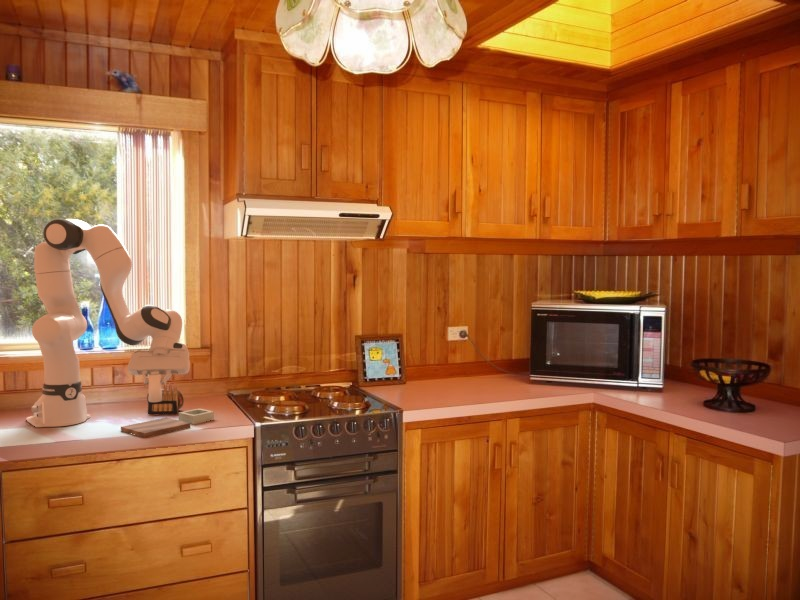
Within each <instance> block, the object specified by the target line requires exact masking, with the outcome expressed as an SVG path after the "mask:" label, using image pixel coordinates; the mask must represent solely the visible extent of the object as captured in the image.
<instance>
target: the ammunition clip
mask: <svg viewBox="0 0 800 600" xmlns="http://www.w3.org/2000/svg"><path fill="white" fill-rule="evenodd" d="M163 388H164V392H162V401H160V402H149V401H147V415H148V414H159V415H177V414H178V415H179V410H178V400H177V390H178V389H177V388H178V386H177V383H176V381H174V383H173V385H172V382H171V381H169V383H168V385H167V383H166V384H163ZM167 388H168V392H167ZM172 389H173V393H172ZM147 395H148V400H149V394H148V393H147ZM153 404H154V409H153ZM158 408H159V410H158Z"/></svg>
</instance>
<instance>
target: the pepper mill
mask: <svg viewBox="0 0 800 600" xmlns="http://www.w3.org/2000/svg"><path fill="white" fill-rule="evenodd" d="M147 378H148V384H147V385H148V393H149V402H160V401H162V388H163V384H161V382H160V381H161V378H163V375H162V374H159V371H151V372H150V374H149V375H148V377H147Z"/></svg>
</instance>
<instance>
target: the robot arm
mask: <svg viewBox="0 0 800 600" xmlns="http://www.w3.org/2000/svg"><path fill="white" fill-rule="evenodd" d="M42 233H43V238H44V241H42V242H39V243H38V244H37V245H36V246H35V249H34V255H33V257H34V258H33V259H34V262H33V265H34V275H35V282H36V290H37V296H38V298H39V300H41V302H42V304H43V305H44V307H45V309H46V312H47V314H44V315H43V316H41V317H39V318H38V319H37V320H36V321H35V322H34V323H33V324H32V328H31V333H32V336H33V339H35V341H36V342H37V343H38V345H39V349H40V352H41V357H42V360H43V370H44V371H43V373H44V374H43V375H44V376H43V377H44V383H43V384H42V388H41V389H42V391H41V393H42V395H41V396H39V398H38V399H37V401H35V403H33V406H31V407H30V411H31V413H32V414H33V415H31V416H27V417H26V419H25V420H27V421H26V422H27V423H29V424H30V425H31V426H33V427H34V426H35V427H34V428H44V427H45V428H46V427H47V428H48V427H54V428H55V427H64V426H65V427H66V426H73V425H77V424H80V423H81V424H82V423H84V422H85V421H86V420H88V419H90V418H91V414H88V411H87V410H88V409H87V402H86V396H85V395H84V394H83V393H82V389H83V388H82V387H83V385H82V381H81V374H80V373H81V372H80V370H81V369H80V368H81V367H80V365H81V364H80V358H79V356H78V355H77V353H76V350H75V347H74V342H73V341H76V340H78V339H80V338H81V337H83V335H84V334H85V333H86V332H87V329H88V321H87V319H86V317H85V316H84V315H83V313H82V312H81V308H80V306H79V303H78V301H77V298H76V294H75V291H74V290H75V289H74V284H73V277H72V276H73V275H72V272H71V266H70V259H71V256H72V254H73V255H78V254H79V253H82V252H84V251H87V252H88V254H89V255H90V257H91V258H92V260H93V262H94V263H95V267H96V268H97V271H98V274H99V278H100V279H99V281H100V282H99V287H100V291H101V293H102V296H103V299H104V301H105V303H106V305H107V309H108V311H109V313H110V315H111V318H112V321H113V323H114V328H115V333H116V335H117V338H118V339H119V340H120V341H121V342H123V343H124V344H125V345H126V344H127V345H129V346H138V345H139V344H140V343H142V342H143V341H144V340H145V339H146V338H148V337H150V338H151V339H152V340H151V344H150V347H149V350H137V351H134V352H133V353H131V356H130V358H129V361H128V364H127V366H126V367H127V372H128V373H129V374H130V376H143V385H149V384H148V375H149V374H150V372H151V371H159V374H162V378H161V381H160V382H161V384H162V385H164V384H166V385H167V381H169V379H170V378H171V377H172V375H187V374H188V373H189V372H190V370H191V369H190V368H191V360H190V351H189V348H188V346H187V345H186V344H185V343H181V342H179V340H180V338H181V335H182V331H183V330H182V329H183V319H182V317H181V315H180V313H179V312H178V311H176V310H173V309H165V310H164V309H161V308H160V307H158V306H156V305H154V304H145V305H143V306H142V307H140V308H139V309H137V310H135V312H133V313H132V314H131V312H130V310H129V308H128V305H127V303H126V301H125V298H124V295H123V287H124V285H125V282H126V280H127V278H128V277H129V275H130V273H131V271H132V266H133V264H132V259H131V256H130V254H129V252H128V250H127V249H126V247H125V245H124V243H123V242H122V241H121V239H120V238H119V237H118V235H117V234H116V232H114V230H113V229H112V227H110V226H108V225H107V224H97V225H94V226H93V224H91V223H90V222H88V221H86V220H82V219H81V220H80V219H77V218H56V219H53V220H51V221H49V222H48V223H46V225H45V226H44V228H43V232H42ZM163 375H164V377H163Z"/></svg>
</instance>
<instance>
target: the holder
mask: <svg viewBox="0 0 800 600" xmlns="http://www.w3.org/2000/svg"><path fill="white" fill-rule="evenodd" d="M178 412H179V411H178ZM214 419H215V412H214V411H213V410H209V409H204V408H195V409H190V410H185V411H180V412H179V413H178V420H179V421H183V422H188V423H190V425H199V424H202V423H206V421H207V422H210V420H211V421H214Z"/></svg>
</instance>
